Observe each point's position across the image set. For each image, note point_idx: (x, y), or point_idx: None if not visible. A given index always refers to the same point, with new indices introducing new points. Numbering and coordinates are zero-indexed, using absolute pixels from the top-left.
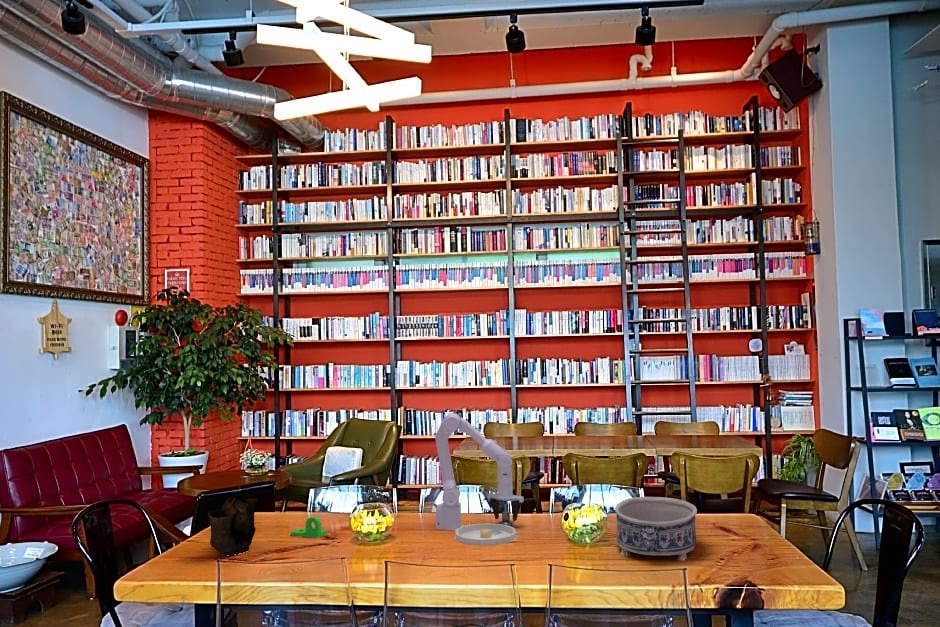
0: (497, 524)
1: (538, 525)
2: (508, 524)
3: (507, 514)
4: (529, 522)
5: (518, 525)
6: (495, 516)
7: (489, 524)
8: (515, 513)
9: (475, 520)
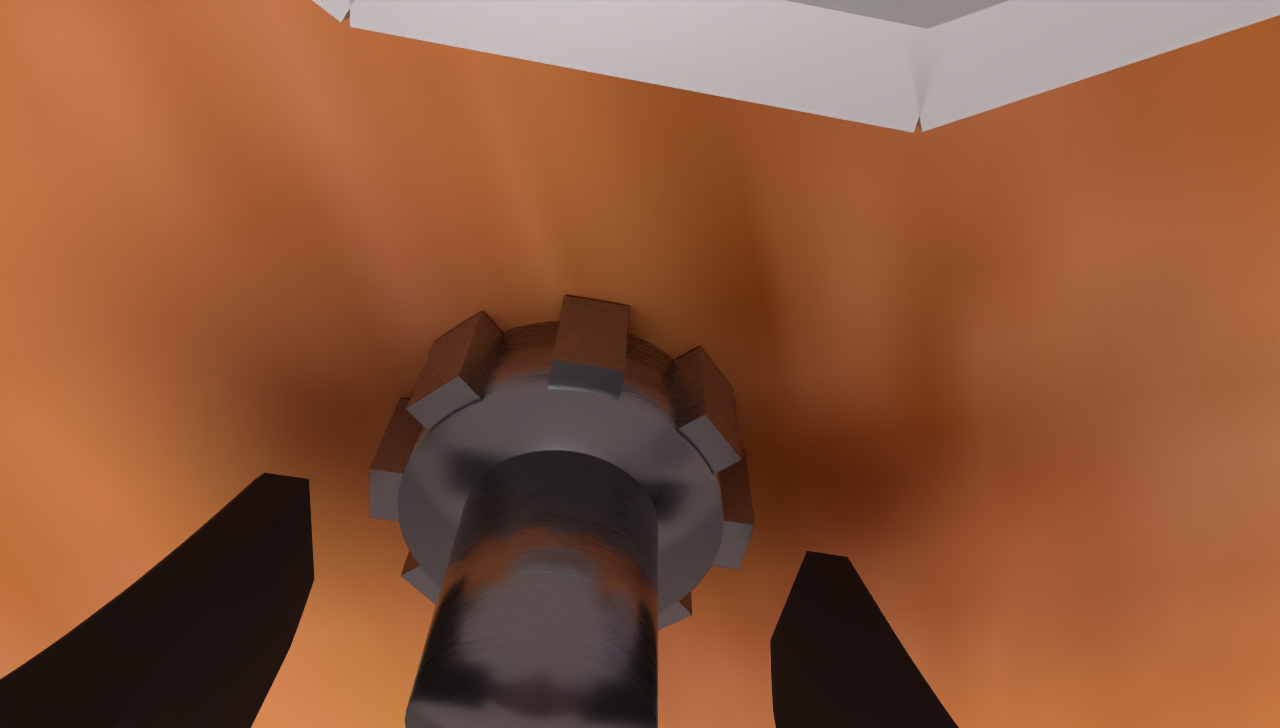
0: (656, 14)
1: (2, 604)
2: (440, 375)
3: (446, 639)
4: (260, 717)
5: (356, 553)
6: (850, 599)
7: (977, 11)
8: (78, 630)
9: (1252, 697)
